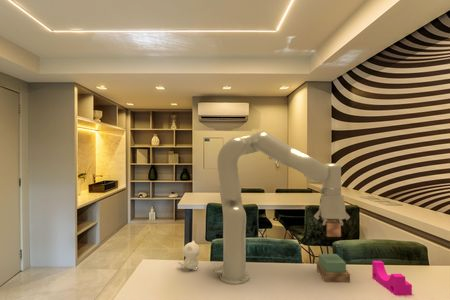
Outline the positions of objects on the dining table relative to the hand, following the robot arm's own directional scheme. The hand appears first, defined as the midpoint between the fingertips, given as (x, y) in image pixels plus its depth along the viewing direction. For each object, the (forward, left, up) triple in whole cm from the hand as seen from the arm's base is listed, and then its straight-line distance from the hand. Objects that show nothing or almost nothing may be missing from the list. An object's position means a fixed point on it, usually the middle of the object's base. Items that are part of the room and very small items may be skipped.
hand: (332, 233), depth 120 cm
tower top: (0, 0, -15) cm, 15 cm away
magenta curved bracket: (+20, -8, -19) cm, 29 cm away
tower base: (0, 0, -19) cm, 19 cm away
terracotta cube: (0, 0, -1) cm, 1 cm away
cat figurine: (-64, +4, -19) cm, 66 cm away
